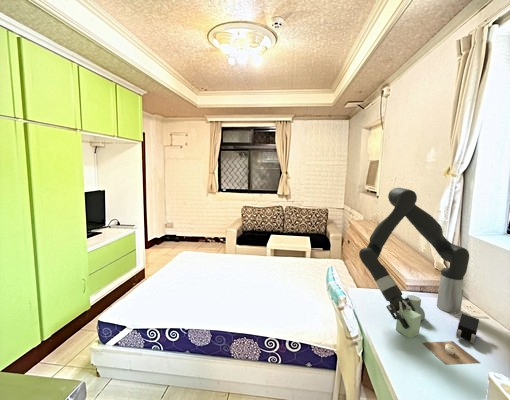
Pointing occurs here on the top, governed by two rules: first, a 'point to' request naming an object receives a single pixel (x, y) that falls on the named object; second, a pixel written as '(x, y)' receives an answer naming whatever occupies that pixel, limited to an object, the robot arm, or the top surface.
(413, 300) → the air freshener
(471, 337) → the figurine character
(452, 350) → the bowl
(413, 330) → the light green rectangular block
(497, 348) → the top surface
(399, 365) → the top surface
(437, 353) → the walnut board
